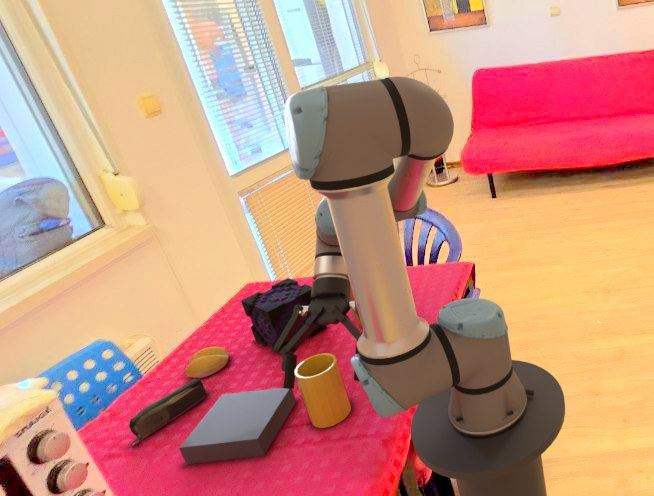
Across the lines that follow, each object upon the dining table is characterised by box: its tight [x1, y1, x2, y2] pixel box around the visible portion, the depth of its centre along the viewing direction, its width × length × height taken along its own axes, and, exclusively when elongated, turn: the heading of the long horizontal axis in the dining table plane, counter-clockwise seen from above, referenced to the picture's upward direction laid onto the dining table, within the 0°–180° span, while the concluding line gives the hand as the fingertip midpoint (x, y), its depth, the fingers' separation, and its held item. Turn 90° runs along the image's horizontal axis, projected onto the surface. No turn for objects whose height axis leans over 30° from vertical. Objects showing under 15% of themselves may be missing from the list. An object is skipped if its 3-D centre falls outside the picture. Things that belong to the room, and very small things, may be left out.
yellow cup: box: [295, 352, 352, 429], centre depth 102 cm, size 7×7×12 cm
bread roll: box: [184, 345, 230, 379], centre depth 122 cm, size 8×9×4 cm
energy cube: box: [240, 277, 328, 355], centre depth 130 cm, size 12×12×12 cm
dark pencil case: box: [128, 378, 208, 447], centre depth 106 cm, size 5×3×15 cm
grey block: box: [178, 386, 297, 465], centre depth 101 cm, size 14×14×4 cm
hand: (323, 384), depth 103 cm, fingers open, 13 cm apart
